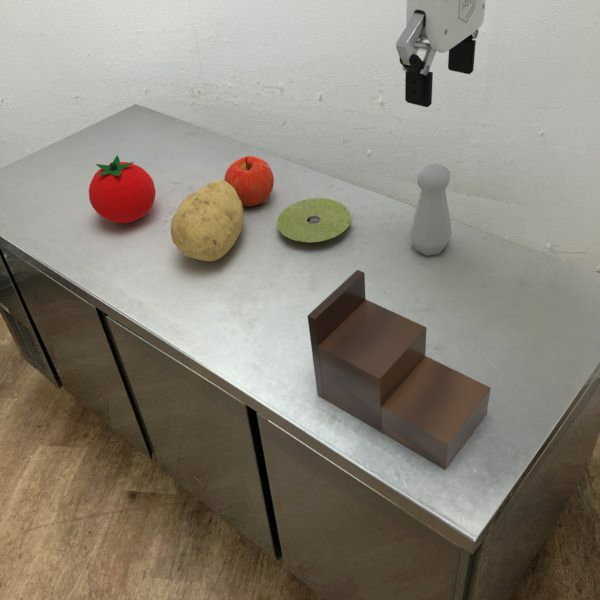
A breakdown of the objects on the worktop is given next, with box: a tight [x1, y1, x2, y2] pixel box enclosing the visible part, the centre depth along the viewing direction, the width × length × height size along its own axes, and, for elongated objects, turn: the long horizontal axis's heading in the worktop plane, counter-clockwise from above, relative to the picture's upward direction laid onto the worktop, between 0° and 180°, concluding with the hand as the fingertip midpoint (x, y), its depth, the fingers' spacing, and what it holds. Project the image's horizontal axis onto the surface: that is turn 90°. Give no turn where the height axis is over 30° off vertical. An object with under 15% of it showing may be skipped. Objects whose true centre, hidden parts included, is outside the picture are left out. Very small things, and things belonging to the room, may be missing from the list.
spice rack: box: [307, 269, 492, 470], centre depth 69 cm, size 17×9×13 cm, turn 50°
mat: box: [276, 197, 352, 243], centre depth 99 cm, size 11×11×2 cm
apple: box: [223, 155, 275, 207], centre depth 104 cm, size 8×8×8 cm
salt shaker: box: [409, 162, 453, 256], centre depth 89 cm, size 6×6×13 cm
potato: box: [170, 179, 245, 262], centre depth 95 cm, size 10×14×10 cm
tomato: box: [88, 154, 156, 224], centre depth 104 cm, size 10×10×10 cm
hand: (439, 87), depth 77 cm, fingers open, 9 cm apart
